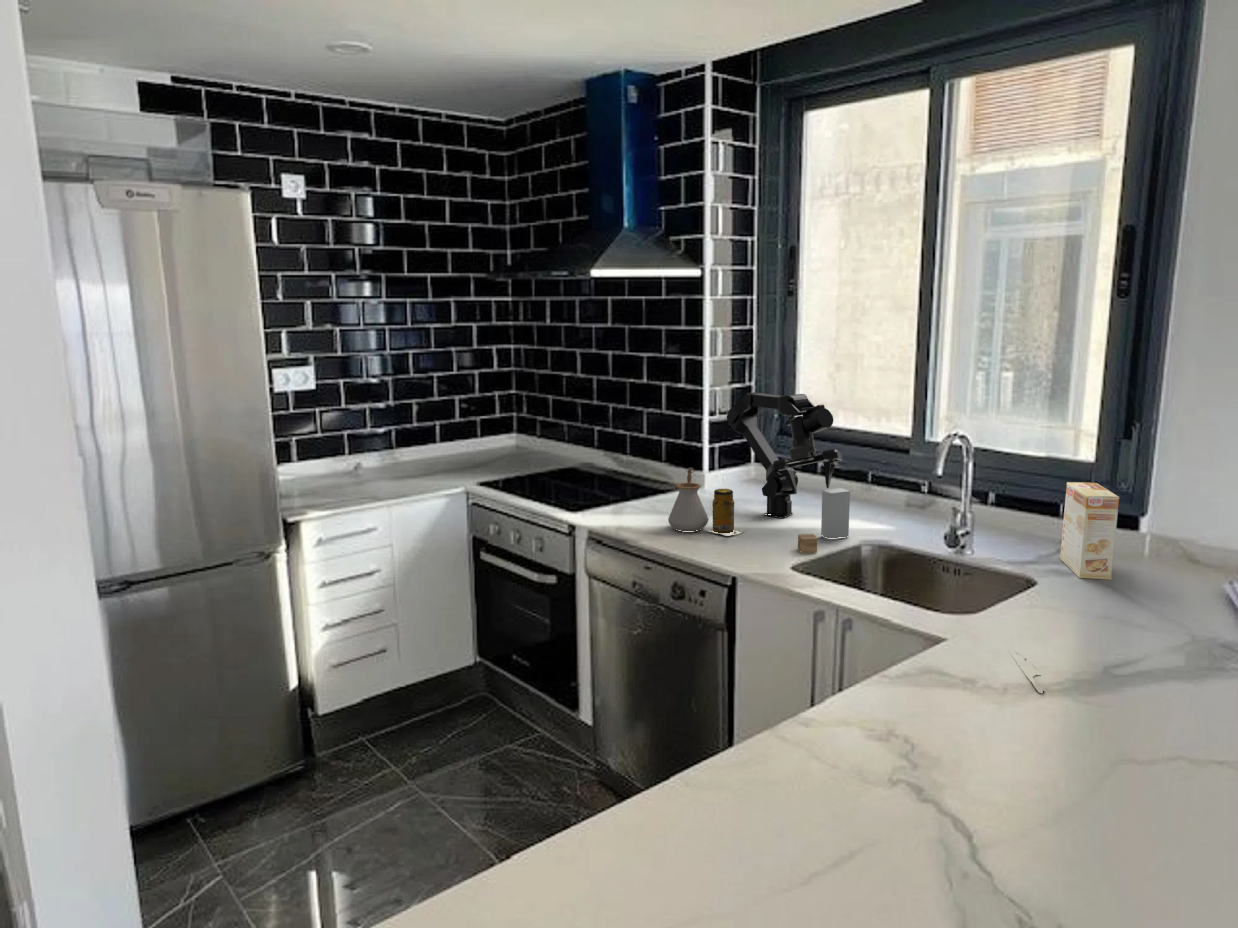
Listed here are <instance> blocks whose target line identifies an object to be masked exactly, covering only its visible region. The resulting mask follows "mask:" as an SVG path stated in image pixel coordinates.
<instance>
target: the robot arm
mask: <svg viewBox="0 0 1238 928" xmlns="http://www.w3.org/2000/svg"><path fill="white" fill-rule="evenodd" d="M736 402H737V403H735V404H733V406H731V408H730V409H729V410H728V412H727V415H726V421H727V423H728V425H729V426H730V427H731V428H732V429H733V430H734V431H735V432H736V433H738V434H739V435H742V436H743V437H744V439H745V440H746V443H748V445H749V446H750V448H751V450H752V451H753V453H754V454H755V455H756V458H757V459H758V460H759V462H760V463H761V466H762V467H763V468H764V469H765V480H766V483H765V484H764V485H763V486H762V488H761V492H762V496H764V497H766V512H764V513H763V515H764V514H767V515H768V514H771V516H770V517H772V516H777V517H785V516H787V517H789V516H791V515H790V514H792V513H791V512H793V511H792V503H793V502H792V500H791V496H792V495H797V494H798V492H797V489H798V488H797V487H798V484H799V477H798V475H797V471H796V470H795V469H794V467H800V466H805V465H810V464H814V463H815V464H816V463H821V462H822V464H823V467H824V478H825V479H824V480H825V487H826V489H830V485H831V480H832V476H833V473H834V470H835V466H838V465H839V462H841V461H843V455H842V452H840V451H839V450H838V449H836V448H833V449H827V450H823V451H822V454H817V446H816V442H815V439H814V434H815V433H816V434H817V433H818V432H821V431H823V430H826V429H828V428H830V427H832V426H833V423H834V416H833V414H832V412H831V411H830V410H829V409H827V408H825V407H826V406H825V404H824V403H822V404H818V405H817V404H816V405H814V403H813V402H812V401H811V400H809V398H808V396H807V394H805V393H797V394H790V395H789V394H787V395H778V394H770V393H762V392H759V391H755V392H747V393H746V394H744V395H743V397H742V398H741V399H740V400H739V401H736ZM760 408H766V409H774V410H777V411H778V412H779V413H780V414H783V415H785V416H788V418H787V420H786V421H785V423H784V425H785V426H788V427H789V426H790V430H791V436H792V446H791V447H790V448H789V449H788V450H789V454H790V458H791V460H788V459H786V458H784V459H780V458H778V456H777V454H776V453H775V452H774V451H773V448H772V447H771V445H770V444H769V442H768V441H767V439H766V438H765V437H764V435H763V434H762V432H761V430H760V429H759V426H758V417H757V416H758V414H759V413H760ZM788 515H789V516H788ZM792 515H793V514H792ZM777 517H776V518H777ZM785 518H786V517H785Z"/></svg>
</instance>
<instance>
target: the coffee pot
mask: <svg viewBox="0 0 1238 928" xmlns="http://www.w3.org/2000/svg"><path fill="white" fill-rule="evenodd" d="M692 470H693V471H692ZM686 472H687V476H686V479H687V481H686V482H682V483H678V484H676V487H677V489H678V495H677V496H676V498H675V499H676V500H675V502H674V504H673V506H672V508H671V511H670V513H669V516H668V518H667V520H668V523H669V525H670V526H671V527H672V529H674V530H675V529H677V530H681V531H696V530H700V529H702V530H703V528H705V527H706V526H707V525H708V523H709V519H710V518H709V517H708V514H707V512H706V510H705V508H704V506H703V505H704V504H703V503H702V500H701V498H700V496H699V494H698V491H699V490H700V488H701V484H699V483H695V482H692V477H693V476H692V473H694V472H695V469H694V468H693V467H691V466H690V467H688V468H687V469H686Z"/></svg>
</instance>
